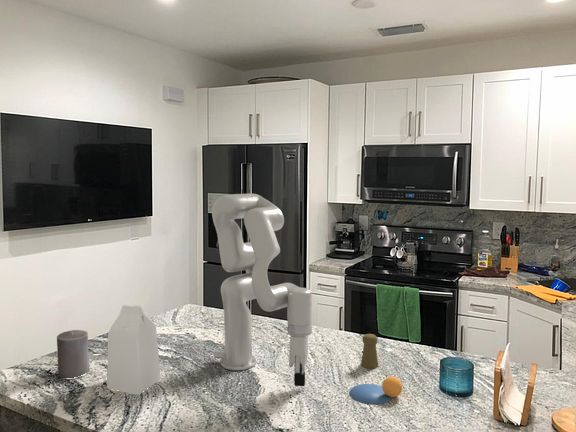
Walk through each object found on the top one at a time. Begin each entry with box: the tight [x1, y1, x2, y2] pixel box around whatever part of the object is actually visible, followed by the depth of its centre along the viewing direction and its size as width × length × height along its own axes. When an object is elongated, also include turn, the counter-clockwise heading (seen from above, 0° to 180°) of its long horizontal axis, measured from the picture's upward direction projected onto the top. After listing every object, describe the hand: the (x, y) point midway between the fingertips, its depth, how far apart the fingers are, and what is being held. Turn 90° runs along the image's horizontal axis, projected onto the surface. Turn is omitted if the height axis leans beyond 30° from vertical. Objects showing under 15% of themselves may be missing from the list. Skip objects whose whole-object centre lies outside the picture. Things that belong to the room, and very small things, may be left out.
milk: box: [106, 303, 162, 395], centre depth 157 cm, size 12×12×26 cm
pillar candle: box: [56, 329, 90, 379], centre depth 166 cm, size 10×10×15 cm
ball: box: [381, 375, 403, 398], centre depth 149 cm, size 6×6×6 cm
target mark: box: [349, 383, 393, 405], centre depth 151 cm, size 13×13×1 cm
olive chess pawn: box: [360, 333, 379, 370], centre depth 172 cm, size 6×6×11 cm
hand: (299, 384), depth 154 cm, fingers closed
